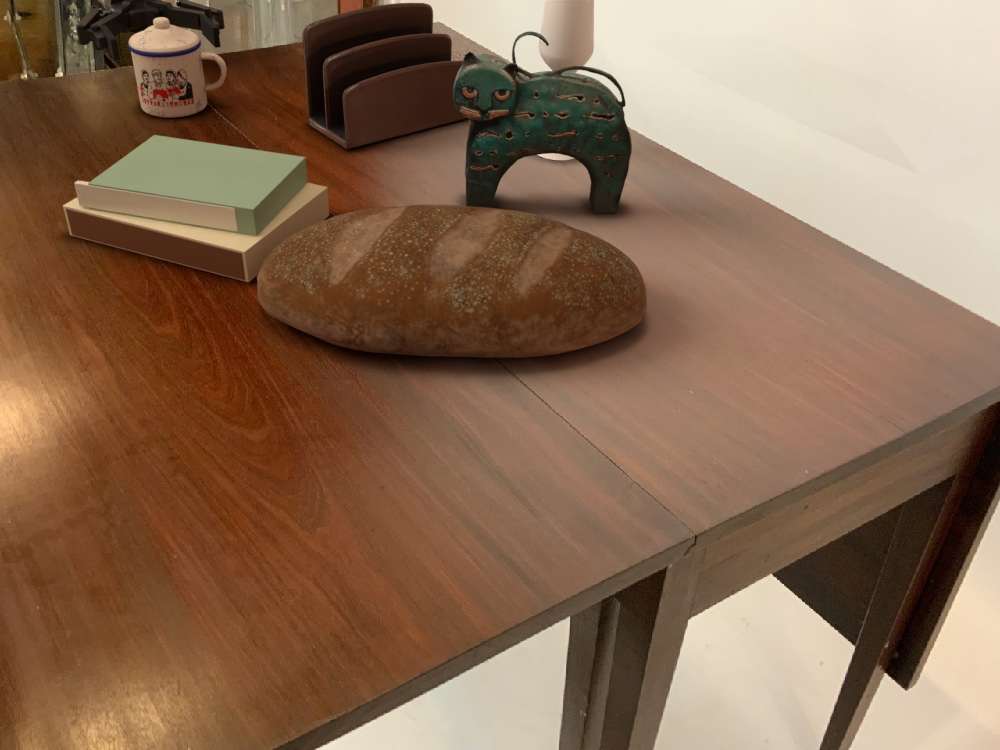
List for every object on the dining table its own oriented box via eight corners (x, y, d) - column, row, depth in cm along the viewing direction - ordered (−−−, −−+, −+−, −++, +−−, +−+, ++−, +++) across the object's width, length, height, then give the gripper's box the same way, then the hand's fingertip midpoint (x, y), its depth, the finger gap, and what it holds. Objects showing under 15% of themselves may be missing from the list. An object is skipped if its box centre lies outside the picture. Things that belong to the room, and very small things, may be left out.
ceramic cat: (450, 215, 110) (453, 36, 98) (452, 189, 115) (455, 17, 103) (625, 220, 111) (649, 44, 99) (619, 195, 116) (640, 24, 104)
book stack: (69, 235, 102) (55, 178, 99) (165, 176, 115) (156, 124, 111) (248, 283, 96) (240, 224, 93) (329, 215, 109) (325, 161, 105)
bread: (282, 243, 103) (274, 169, 98) (630, 255, 104) (640, 183, 99) (238, 365, 85) (226, 282, 80) (657, 378, 87) (671, 298, 81)
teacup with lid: (133, 119, 128) (116, 29, 121) (146, 93, 135) (131, 7, 128) (226, 119, 129) (215, 30, 122) (235, 94, 136) (224, 9, 129)
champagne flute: (582, 140, 129) (601, -53, 114) (584, 161, 123) (605, -39, 109) (531, 137, 129) (544, -56, 114) (531, 159, 123) (545, -42, 109)
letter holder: (307, 125, 128) (298, 17, 120) (429, 96, 139) (429, -6, 130) (347, 151, 122) (341, 39, 114) (472, 119, 133) (475, 13, 124)
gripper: (215, 17, 154) (259, 59, 140) (48, 36, 144) (76, 83, 129) (209, -33, 150) (253, 5, 135) (36, -17, 139) (64, 26, 125)
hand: (167, 43), depth 132 cm, fingers open, 13 cm apart
